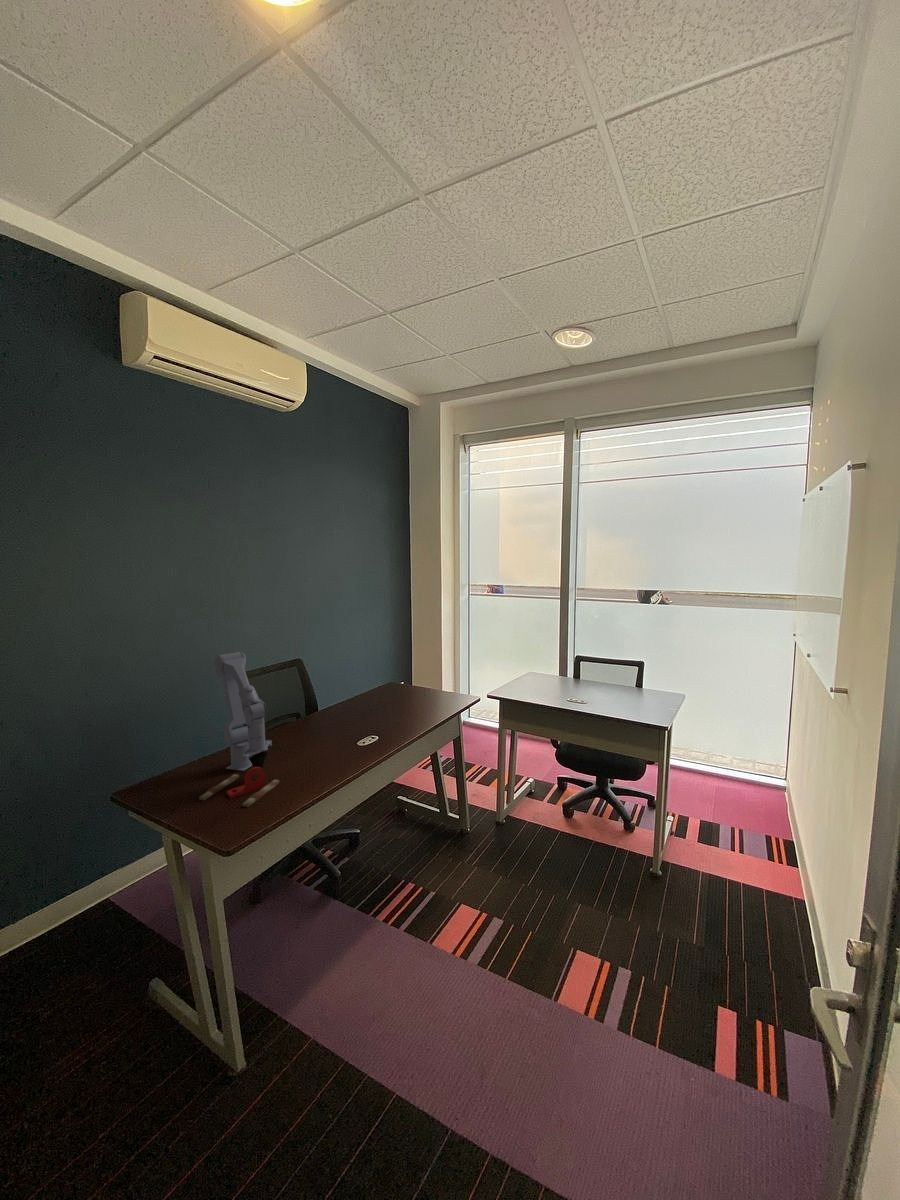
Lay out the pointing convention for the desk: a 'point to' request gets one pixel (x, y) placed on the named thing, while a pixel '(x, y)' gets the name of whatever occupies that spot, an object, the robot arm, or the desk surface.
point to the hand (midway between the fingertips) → (258, 771)
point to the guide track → (231, 779)
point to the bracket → (249, 783)
